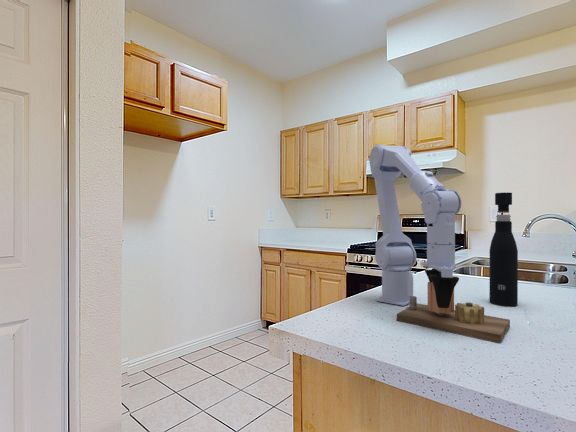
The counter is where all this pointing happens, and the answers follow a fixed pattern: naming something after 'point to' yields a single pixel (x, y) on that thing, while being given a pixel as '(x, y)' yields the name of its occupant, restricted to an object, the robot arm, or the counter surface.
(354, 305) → the counter surface
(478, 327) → the gear board
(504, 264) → the black bottle
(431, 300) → the gear
